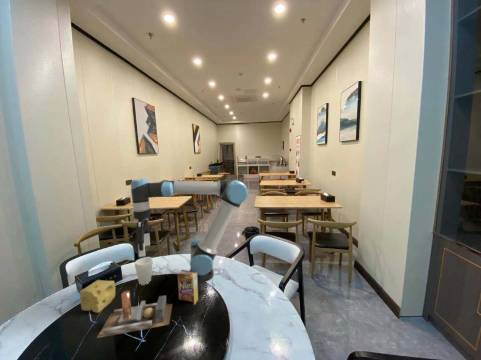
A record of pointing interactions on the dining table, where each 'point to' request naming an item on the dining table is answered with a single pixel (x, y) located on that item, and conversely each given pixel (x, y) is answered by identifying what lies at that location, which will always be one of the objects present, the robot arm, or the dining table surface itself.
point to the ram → (130, 311)
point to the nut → (148, 312)
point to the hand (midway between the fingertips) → (145, 250)
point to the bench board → (157, 319)
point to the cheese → (97, 295)
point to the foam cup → (144, 270)
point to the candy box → (188, 286)
